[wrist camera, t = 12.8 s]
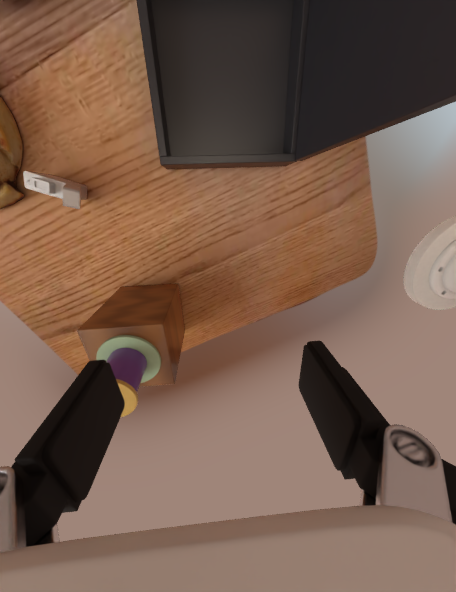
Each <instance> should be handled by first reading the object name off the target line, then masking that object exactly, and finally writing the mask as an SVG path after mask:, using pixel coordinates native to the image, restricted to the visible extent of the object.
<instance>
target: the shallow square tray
mask: <svg viewBox="0 0 456 592" xmlns="http://www.w3.org/2000/svg"><path fill="white" fill-rule="evenodd" d="M137 6H138V13H139V20H140V26H141V33H142V40H143V47H144V54H145V60H146V67H147V74H148V81H149V88H150V94H151V101H152V108H153V115H154V122H155V128H156V135H157V142H158V149H159V156H160V162H161V165H162V166H164V167H165V168H166V169H197V168H234V167H272V166H287V165H289V164H292V163H294V162H296V149H297V138H298V127H299V116H300V105H301V94H302V83H303V72H304V61H305V51H306V40H307V29H308V18H309V7H310V0H137Z"/></svg>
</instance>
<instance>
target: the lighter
mask: <svg viewBox="0 0 456 592" xmlns="http://www.w3.org/2000/svg"><path fill="white" fill-rule="evenodd" d="M23 174H24V185H25V187H26V188H27V189H30V190H34V191H37V192H40V193H44V194H47V195H51V196H54V197H58V198H61V199H63V206H67V207H72V208H76V209H80V205H81V200H86V199H87V186H86V185H83V184H80V183H77V182H73V181H70V180H67V179H64V178H60V177H57V176H54V175H49V174H42V173H36V172H29V171H24V172H23Z"/></svg>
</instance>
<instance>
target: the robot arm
mask: <svg viewBox="0 0 456 592" xmlns="http://www.w3.org/2000/svg"><path fill="white" fill-rule="evenodd" d="M429 284H430V288H431V290H432V291H433V292H434V293H435V294H437V295H438V296H441V297H443V298H447V299H456V240H455V241H454V242H452V243H451V244H450V245H448V246H447V247H446V248H445V249H444V250H443V251H442V252H441V254H440V255H439V256H438V257H437V259H436V261H435V262H434V264H433V266H432V268H431V271H430V275H429ZM299 389H300V392H301V394H302V396H303V399H304V401H305V403H306V405H307V408H308V410H309V412H310V414H311V416H312V418H313V420H314V423H315V425H316V427H317V429H318V431H319V434H320V436H321V438H322V440H323V442H324V444H325V447H326V449H327V451H328V453H329V455H330V458H331V460H332V462H333V464H334V466H335V467H336V469H337V470H341V472H342V474H343V477H344V479H353V478H355V479H356V481H357V483H358V485H359V487H360V488H361V489H362V490H361V499H360V506H352V507H342V508H331V509H320V510H311V511H302V512H294V513H286V514H276V515H268V516H259V517H251V518H242V519H235V520H226V521H219V522H210V523H202V524H194V525H186V526H177V527H169V528H161V529H153V530H146V531H138V532H130V533H122V534H114V535H107V536H99V537H91V538H83V539H77V540H69V541H63V542H60V541H59V534H58V527H57V522H58V520H59V518H60V516H61V513H64V512H73V511H77V510H78V508H79V505H80V503H81V501H82V500H84V499H85V498H86V497H87V495H88V492H89V490H90V488H91V486H92V484H93V481H94V479H95V476H96V474H97V472H98V469H99V467H100V464H101V462H102V459H103V457H104V455H105V453H106V450H107V448H108V445H109V443H110V441H111V438H112V436H113V433H114V431H115V429H116V426H117V424H118V422H119V419H120V417H121V415H122V412H123V410H124V406H125V401H124V398H123V396H122V393H121V391H120V388H119V386H118V383H117V381H116V378H115V375H114V373H113V370H112V368H111V365H110V363H108V362H106V361H105V360H93V361H89V362H88V363H87V365H86V366H85V367H84V369H83V370H82V371H81V373H80V374H79V375H78V377H77V378H76V379H75V381H74V382H73V383H72V385H71V386H70V387H69V389H68V390H67V391H66V392H65V394H64V395H63V396H62V398H61V399H60V400H59V402H58V403H57V404H56V406H55V407H54V408H53V410H52V411H51V412H50V414H49V415H48V416H47V418H46V419H45V420H44V422H43V423H42V424H41V426H40V427H39V428H38V429H37V431H36V432H35V433H34V435H33V436H32V437H31V439H30V440H29V441H28V443H27V444H26V445H25V447H24V448H23V449H22V450H21V452H20V453H19V454H18V456H17V457H16V458H15V463H14V464H13V465H12V467H8V466H7V467H0V592H456V466H454V465H452V464H450V463H448V462H446V461H444V460H443V459H441V457H440V454H439V452H438V451H437V450H436V448H435V447H434V445H432V443H431V442H430V441H428V439H427V438H425V437H424V436H423V435H421V434H420V433H419V432H417V431H415V430H413V429H411V428H409V427H405V426H403V425H390V424H389V423H388V422H387V421H386V419H385V418H384V417H383V416H382V414H381V413H380V412H379V411H378V409H377V408H376V407H375V406H374V404H373V403H372V402H371V400H370V399H369V398H368V397H367V395H366V394H365V393H364V392H363V390H362V389H361V388H360V387H359V385H358V384H357V383H356V382H355V380H354V379H353V378H352V376H351V375H350V374H349V373H348V371H347V370H346V369H345V368H343V367H341V366H340V364H339V363H338V362H337V361H336V359H335V358H334V357H333V355H332V354H331V353H330V352H329V350H328V349H327V348H326V347H325V345H324V344H323V343H322V342H321V341H310V342H308V343H307V345H305V346H304V350H303V358H302V365H301V372H300V379H299Z"/></svg>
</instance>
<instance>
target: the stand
mask: <svg viewBox="0 0 456 592" xmlns="http://www.w3.org/2000/svg"><path fill="white" fill-rule="evenodd" d="M77 331H78V334H79V336H80V339H81V341H82V343H83V346H84V348H85V351H86V353H87V355H88V358H89V360H90V361H93V360H96V356H97V351H98V349H99V348H100V346H101V345H102V344H103V343H104V342H105V341H106V340H108V339H110V338H112V337H115V336H120V335H132V336H137V337H140V338H143V339H145V340H147V341H148V342H150V343H151V344H152V345H154V346H155V348H156V349H157V350H158V352H159V354H160V357H161V366H160V369H159V371H158V373H157V374H156V375H155V376H154V377H153V378H152V379H150V380H148V381H146V382H143V383H140V386H139V387H143V386H154V385H165V384H175V380H176V374H177V369H178V364H179V359H180V353H181V348H182V343H183V338H184V332H185V326H184V320H183V313H182V306H181V299H180V292H179V286H178V284H162V285H145V286H128V287H120V288H119V289H118V290H117V291H116V292H115V293H114V294H113V295H112V296H111V297H110V298H109V299H108V300H107V301H106V302H105V303H104V304H103V305H102V306H101V307H100V308H99V309H98V310H97V311H96V312H95V313H94V314H93V315H92V316H91V317H90V318H89V319H88V320H87V321H86V322H85V323H84V324H83V325H82V326H81V327H80V328H79V329H78V330H77Z"/></svg>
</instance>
